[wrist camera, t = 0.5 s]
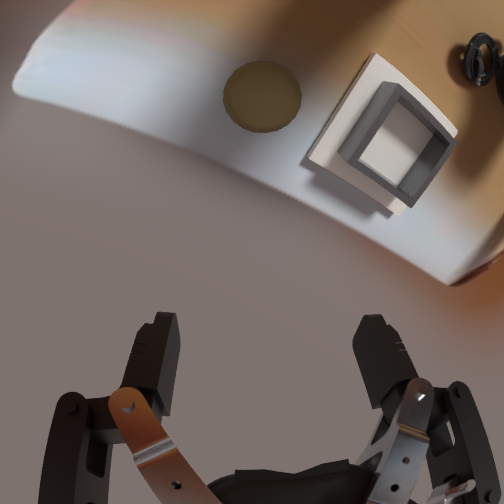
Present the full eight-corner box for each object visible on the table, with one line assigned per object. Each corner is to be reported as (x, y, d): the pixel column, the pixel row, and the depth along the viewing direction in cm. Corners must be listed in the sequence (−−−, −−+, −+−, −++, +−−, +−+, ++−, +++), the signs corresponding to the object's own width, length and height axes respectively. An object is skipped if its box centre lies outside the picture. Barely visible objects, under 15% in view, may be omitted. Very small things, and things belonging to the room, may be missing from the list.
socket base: (371, 53, 20) (376, 53, 19) (452, 128, 24) (458, 131, 23) (306, 155, 28) (308, 158, 27) (395, 211, 31) (398, 216, 31)
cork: (299, 106, 25) (325, 125, 16) (243, 126, 26) (238, 157, 17) (276, 54, 21) (290, 40, 12) (219, 76, 23) (197, 77, 14)
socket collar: (382, 80, 21) (398, 83, 18) (440, 133, 24) (457, 142, 21) (336, 152, 26) (346, 162, 23) (398, 194, 29) (411, 208, 26)
